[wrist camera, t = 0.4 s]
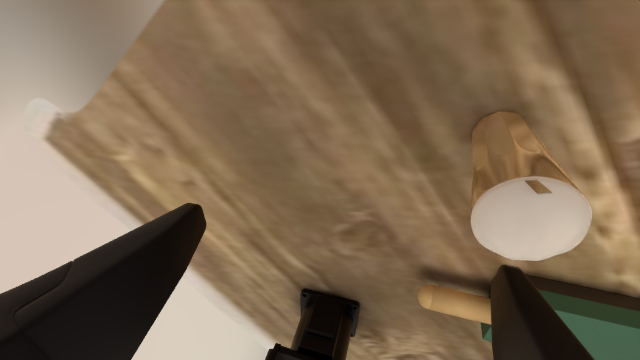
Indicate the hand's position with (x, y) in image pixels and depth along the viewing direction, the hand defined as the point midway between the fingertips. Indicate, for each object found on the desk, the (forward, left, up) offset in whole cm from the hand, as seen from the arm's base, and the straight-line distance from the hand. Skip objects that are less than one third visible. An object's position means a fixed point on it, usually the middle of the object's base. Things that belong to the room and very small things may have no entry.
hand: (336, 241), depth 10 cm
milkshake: (-2, -7, -14) cm, 16 cm away
